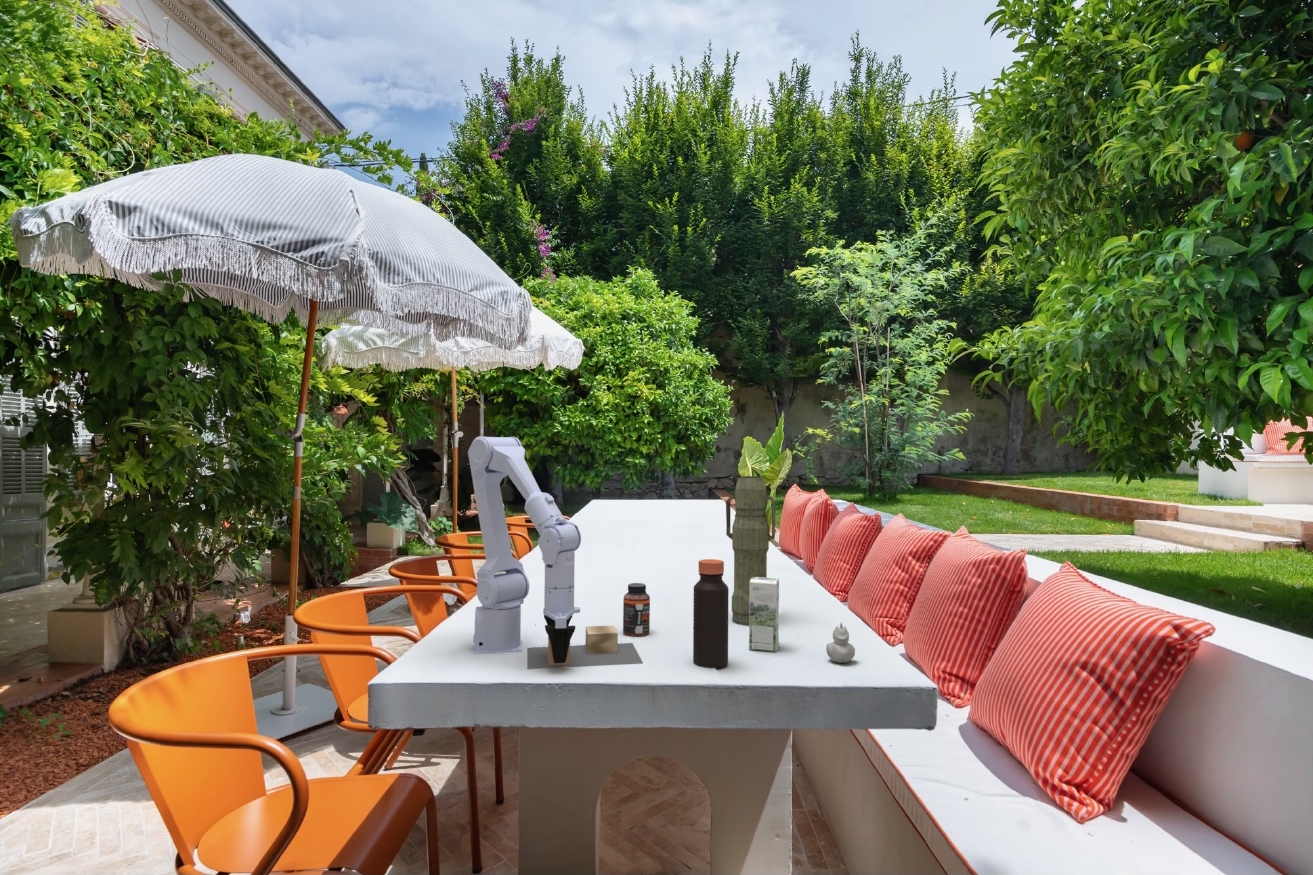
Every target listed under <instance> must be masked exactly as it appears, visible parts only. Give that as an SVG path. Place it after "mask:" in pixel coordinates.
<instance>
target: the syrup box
mask: <svg viewBox="0 0 1313 875" xmlns="http://www.w3.org/2000/svg"><path fill="white" fill-rule="evenodd" d="M779 599H780V579H779V578H776V577H767V578H764V577H752V578H751V580H750V584H749V626H748V629H749V630H748V633H749V634H748V643H749V644H748V650H751V651H760V652H771V653H776V652H777V650H778V647H779V643H780V642H779V641H780V640H779V639H780V638H779V618H780V617H779V614H780V613H779V612H780V610H779V608H780V607H779V605H780V600H779Z"/></svg>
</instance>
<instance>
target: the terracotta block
mask: <svg viewBox="0 0 1313 875" xmlns="http://www.w3.org/2000/svg"><path fill="white" fill-rule="evenodd" d="M570 646H571V642H570V643H569V648H568V653H567V658H566V662H565V663H554V660H553V655H552V648H551V643H550V639H549V636H548V635H547V647H548V664H549V665H567V664H570Z"/></svg>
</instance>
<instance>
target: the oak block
mask: <svg viewBox="0 0 1313 875" xmlns="http://www.w3.org/2000/svg"><path fill="white" fill-rule="evenodd" d="M618 641H619V633H618V630H617V628H616V626H615V625H591V626H585V645H586V649H587V652H588V654H602V653H618V644H619V643H618Z"/></svg>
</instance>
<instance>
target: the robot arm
mask: <svg viewBox="0 0 1313 875" xmlns="http://www.w3.org/2000/svg"><path fill="white" fill-rule="evenodd" d="M467 456H468V461H469V466H470V473H471V478H472V485H473V492H474V496H475V502H476V509H477V515H478V520H479V525H480V526H479V528H480V531H481V532H480V534H481V538H482V543H483V550H484V556H485V562H484V563H483V565H481V567H480V568H479V569H478V571H476V578H477V582H476V583H477V584H476V596H477V599H478V601H479V602H480V604H481V606H476V607H475V612H474V634H473V645H474V648H473V649H474V651H473V653H474V654H475V655H477V654H478V655H479V654H497V653H499V654H500V653H519V652H520V653H521V652H523V639H521V633H522V632H521V631H522V630H521V622H522V621H521V619H522V618H521V616H522V614H521V613H522V606H521V605H523V604H524V599H526V598H527V597H528V595H529V591H530V581H529V578H528V576H527V575H526V572H525V569H524V565H523V563H522V562H521V561H519V559H517V558H516V557H514V556H513V553H512V552H513V551H512V549H511V540H510V536H509V530H508V524H507V519H506V513H505V508H504V501H503V496H502V491H501V486H500V485H501V482H502V481H503V479H504V478H506V477H507V476H508V477H509V479H510V480H511V482H512V483H513V484H514V485H515V487H516V489H517V490H518V492H520V494H521V496H522V497H523V499H525V503H524V504H525V505H524V511H525V512H526V514H527V515H528V517H529V518H528V519H530V521H531V523H532V525H533V526H534V527H535V529H536V531H537V532H538V535H539V538H537V542H538V547H539V549H540V551H541V554H542V556H541V557H542V558H541V559H542V561H543V564H544V598H543V599H544V602H543V603H544V604H543V605H544V606H543V607H544V608H543V609H542V610H543V612H542V614H543V618H544V621H545V622H546V624H545V625H544V629H545V632H546V635H547V637H548V636H549V639H550V643H551V648H552V655H553V660H554V663H565V662H566V658H567V653H568V648H569V643H570V644H571V639H572V638H573V635H574V633H575V632H576V625H570V622H571V620H572V618H573V615H575V614H579V613H581V607H579V606H575V556H576V555H575V553H576V552H575V551H577V550H578V548H580V546H581V542H582V534H581V532H580V529H579V526H578V525H577V524H576V523H574V522H571V521H569V520H568V518H565V517H564V515H563V513H562V512H561V510H560V509H559V507H558V505H557V504H556V503H555V498H554V497H553V496H552V495H551V494H550V493H548V492H542V490H541V489H540V487H539V485H538V482H537V481H536V478H535V477H534V475H533V473H532V471H531V469H530V468H529V465H528V463H527V461H526V460H525V459H526V449H525V448H524V446H523V445H522V443H521V441H520V440H519V438H518V437H515V436H508V437H505V436H504V437H503V436H498V437H497V436H482V435H480V436H476V437H475V438H474V439H473V441H472V442H471V445H470V446H469V449H468V451H467ZM501 572H504V573H501ZM497 573H499V574H497Z"/></svg>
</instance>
